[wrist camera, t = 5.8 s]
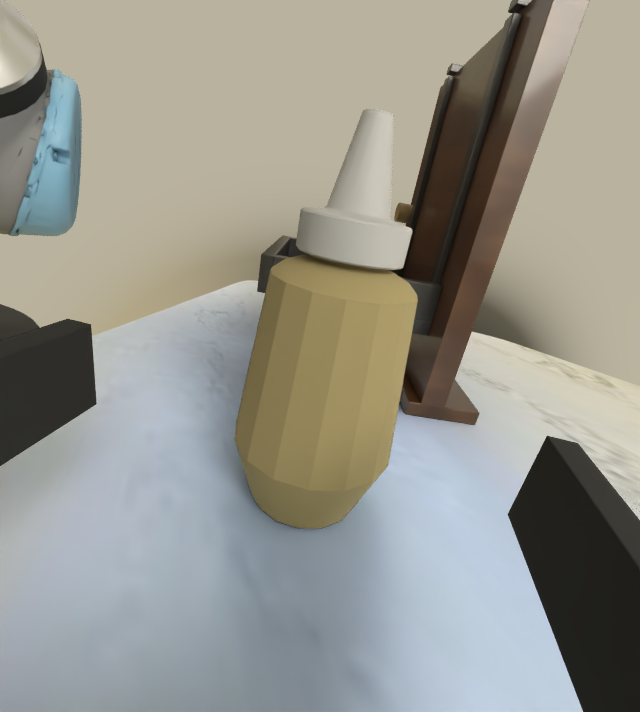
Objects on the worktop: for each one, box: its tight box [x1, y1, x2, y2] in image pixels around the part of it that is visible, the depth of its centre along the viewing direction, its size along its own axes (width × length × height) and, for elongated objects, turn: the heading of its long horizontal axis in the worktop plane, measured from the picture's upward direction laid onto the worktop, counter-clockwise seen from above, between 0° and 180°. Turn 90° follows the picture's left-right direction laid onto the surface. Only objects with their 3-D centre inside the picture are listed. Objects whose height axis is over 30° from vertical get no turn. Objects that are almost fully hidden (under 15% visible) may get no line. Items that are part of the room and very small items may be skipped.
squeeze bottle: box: [235, 109, 418, 528], centre depth 17 cm, size 8×8×18 cm
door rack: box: [257, 0, 590, 425], centre depth 35 cm, size 20×22×29 cm
